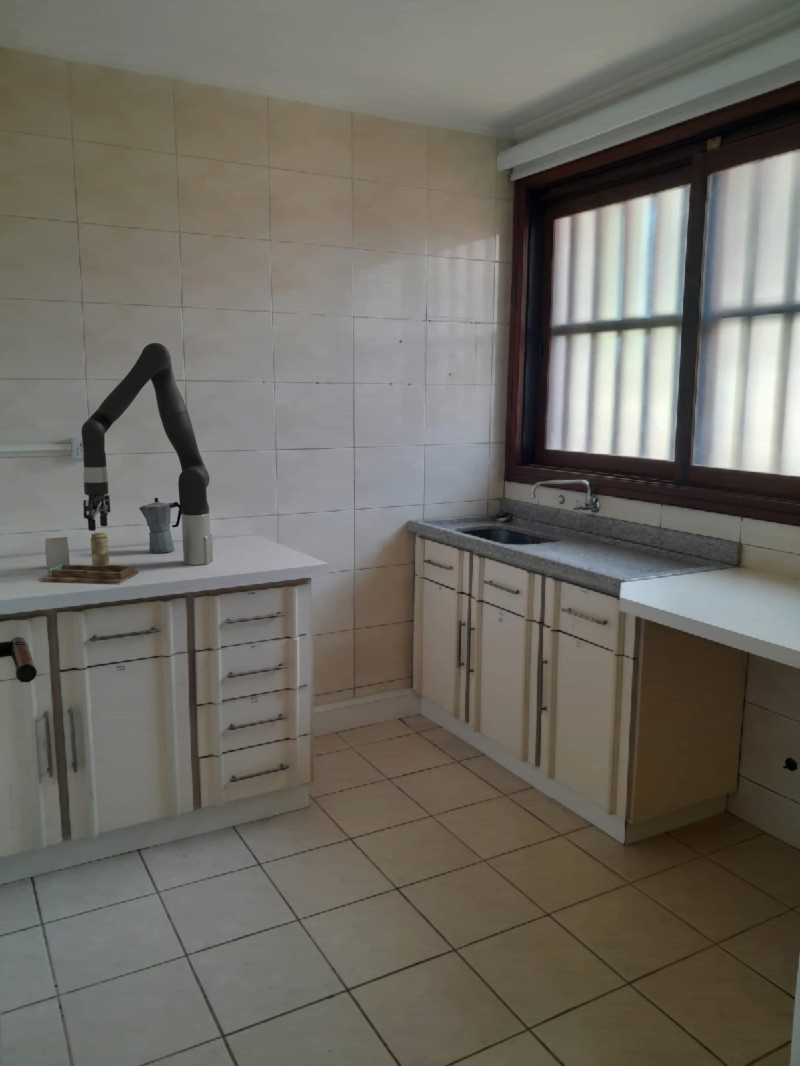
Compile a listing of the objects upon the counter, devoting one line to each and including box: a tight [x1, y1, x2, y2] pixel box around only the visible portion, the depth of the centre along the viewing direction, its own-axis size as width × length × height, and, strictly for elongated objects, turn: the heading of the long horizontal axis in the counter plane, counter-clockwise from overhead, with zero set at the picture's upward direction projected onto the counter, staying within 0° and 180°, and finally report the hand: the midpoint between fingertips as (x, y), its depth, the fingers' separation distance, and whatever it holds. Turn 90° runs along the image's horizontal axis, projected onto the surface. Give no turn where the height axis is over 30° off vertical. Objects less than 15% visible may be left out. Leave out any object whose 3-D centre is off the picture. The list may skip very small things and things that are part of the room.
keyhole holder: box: [42, 564, 140, 584], centre depth 255 cm, size 25×14×3 cm, turn 85°
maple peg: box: [90, 532, 110, 566], centre depth 270 cm, size 5×5×11 cm
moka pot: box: [138, 497, 182, 554], centre depth 294 cm, size 10×15×20 cm, turn 115°
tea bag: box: [44, 536, 71, 570], centre depth 269 cm, size 4×7×10 cm, turn 120°
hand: (98, 528), depth 268 cm, fingers open, 8 cm apart
